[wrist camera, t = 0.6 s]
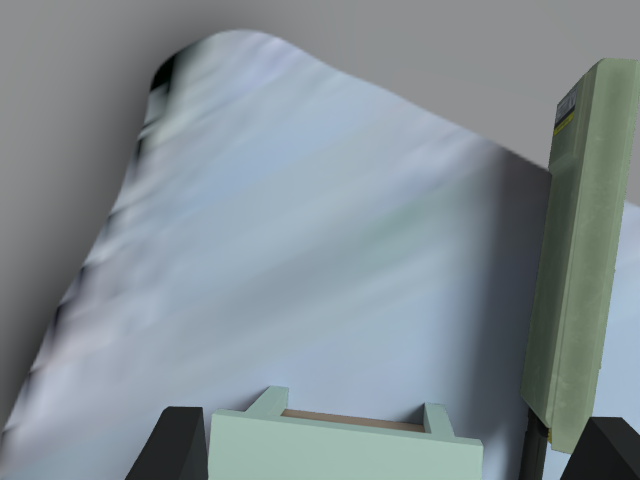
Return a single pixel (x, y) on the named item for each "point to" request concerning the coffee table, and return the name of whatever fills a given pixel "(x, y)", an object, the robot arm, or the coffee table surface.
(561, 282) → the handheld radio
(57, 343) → the coffee table surface
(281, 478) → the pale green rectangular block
